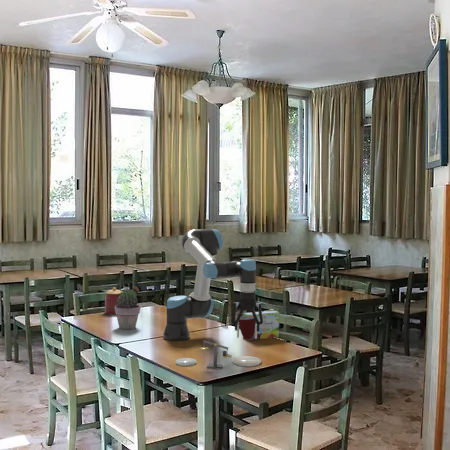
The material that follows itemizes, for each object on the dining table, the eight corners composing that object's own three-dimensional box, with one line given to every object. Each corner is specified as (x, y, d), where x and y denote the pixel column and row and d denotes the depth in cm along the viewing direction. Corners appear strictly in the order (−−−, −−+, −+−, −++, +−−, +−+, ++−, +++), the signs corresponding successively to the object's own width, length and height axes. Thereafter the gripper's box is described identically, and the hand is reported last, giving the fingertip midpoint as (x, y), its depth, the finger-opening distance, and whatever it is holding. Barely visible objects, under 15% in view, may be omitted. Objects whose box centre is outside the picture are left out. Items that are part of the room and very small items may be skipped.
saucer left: (173, 365, 275) (173, 363, 274) (177, 359, 284) (177, 357, 284) (194, 366, 273) (194, 364, 273) (197, 360, 283) (197, 358, 283)
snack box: (247, 341, 324) (247, 314, 323) (242, 338, 329) (243, 312, 328) (279, 337, 334) (279, 311, 333) (274, 335, 339) (274, 309, 338)
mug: (233, 338, 282) (231, 318, 282) (245, 334, 287) (243, 315, 287) (248, 341, 274) (246, 320, 274) (260, 337, 279) (258, 317, 279)
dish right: (230, 365, 275) (230, 363, 275) (233, 357, 289) (233, 355, 289) (259, 367, 273) (259, 364, 273) (261, 359, 287) (261, 356, 287)
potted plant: (104, 329, 346) (105, 288, 345) (122, 323, 364) (122, 284, 363) (130, 332, 339) (131, 290, 338) (147, 326, 357) (147, 286, 356)
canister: (101, 314, 392) (101, 288, 392) (108, 310, 405) (108, 285, 404) (119, 314, 390) (120, 289, 389) (126, 311, 403) (126, 286, 402)
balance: (198, 367, 272) (198, 341, 271) (200, 364, 276) (200, 338, 276) (230, 369, 270) (231, 342, 269) (232, 366, 275) (232, 340, 274)
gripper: (225, 291, 277) (224, 338, 278) (268, 293, 275) (268, 340, 276) (227, 289, 285) (226, 334, 286) (269, 290, 282) (268, 336, 283)
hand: (247, 337), depth 281 cm, fingers closed on mug, 8 cm apart
